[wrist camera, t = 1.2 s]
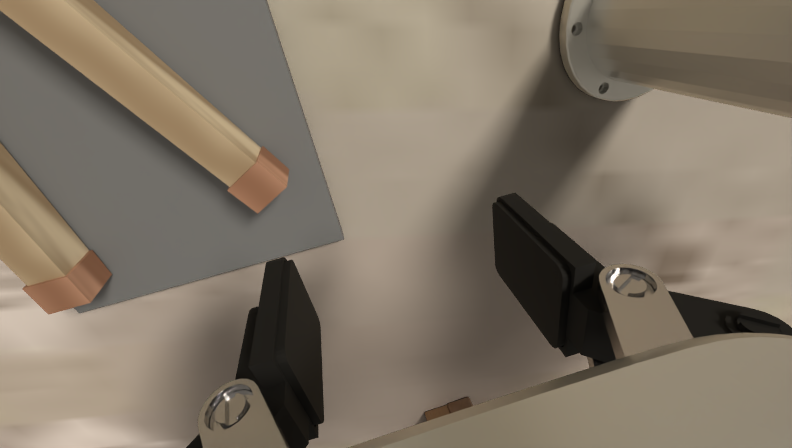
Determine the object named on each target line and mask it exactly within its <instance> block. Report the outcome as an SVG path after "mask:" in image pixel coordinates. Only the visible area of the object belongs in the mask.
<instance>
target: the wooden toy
mask: <svg viewBox="0 0 792 448" xmlns="http://www.w3.org/2000/svg"><path fill="white" fill-rule="evenodd" d="M472 406H473V405H472V403H471V400H470V398H469V397H466V398H463V399H460V400H457V401H454V402H451V403H448V404H447V405H445V406H442V407H439V408H436V409H433V410H430V411H427V412H425V416H426V419H427V421H429V420H432V419H435V418H438V417H441V416H444V415H447V414H450V413H453V412H456V411H459V410H462V409H465V408H469V407H472Z"/></svg>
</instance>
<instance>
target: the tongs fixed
mask: <svg viewBox="0 0 792 448" xmlns="http://www.w3.org/2000/svg"><path fill="white" fill-rule="evenodd" d="M0 259H1V260H2V261H3V262H4V263H5V264H6V265H7V266H8V267H9V268H10V269H11V270H12V271H13V272H14V273H15V274H16V275H17V276H18V277H19V278H20V279H21V280H22V281H23V282H24V283H25V284H26V286H25V287H24V288H23V290H24V291H25V292H26V293H27V294H28V295H29V296H30V297H31V298H32V299H33V300H34V301H35V302H36V303H37V304H38V305H39V306H40V307H41V308H42V309H43V310H44V311H45V312H47V313H48V314H52V313H56V312H59V311H63V310H66V309H70V308H74V307H77V306H81V305H84V304H88V303H91V301H92V300H93V299H94V298H95V296H96V295H97V294H98V292H99V291H100V290H101V288H102V287H103V286H104V284H105V283H106V282H107V280H108V279H109V278H110V276H111V275H112V274H111V272H110V271H109V270H108V269H107V268H106V266H105V265H104V264H103V263H102V261H101V260H100V259H99V258H98V257H97V255H96V254H95V253H94V252H93V250H88V248H87V247H86V246H85V245H84V244H83V242H82V241H81V240H80V239H79V238H78V236H77V235H76V234H75V233H74V231H73V230H72V229H71V228H70V227H69V225H68V224H67V223H66V222H65V220H64V219H63V218H62V217H61V216H60V214H59V213H58V212H57V211H56V210H55V208H54V207H53V206H52V205H51V203H50V202H49V201H48V200H47V199H46V197H45V196H44V195H43V194H42V192H41V191H40V190H39V189H38V188H37V186H36V185H35V184H34V183H33V182H32V180H31V179H30V178H29V177H28V175H27V174H26V173H25V172H24V171H23V169H22V168H21V167H20V166H19V165H18V163H17V162H16V161H15V160H14V158H13V157H12V156H11V155H10V154H9V152H8V151H7V150H6V149H5V147H4V146H3V145H2V144H1V143H0Z"/></svg>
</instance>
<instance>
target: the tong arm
mask: <svg viewBox="0 0 792 448" xmlns="http://www.w3.org/2000/svg"><path fill="white" fill-rule="evenodd" d="M0 11H1V12H3V13H4V14H5V15H7V16H8V17H9V18H11V19H12V20H13V21H14V22H16V23H17V24H18V25H20V26H21V27H22V28H24V29H25V30H26V31H27V32H29V33H30V34H31V35H33V36H34V37H35V38H37V39H38V40H39V41H40V42H42V43H43V44H44V45H46V46H47V47H48V48H50V49H51V50H52V51H53V52H55V53H56V54H57V55H59V56H60V57H61V58H63V59H64V60H65V61H66V62H68V63H69V64H70V65H72V66H73V67H74V68H76V69H77V70H78V71H79V72H81V73H82V74H83V75H85V76H86V77H87V78H89V79H90V80H91V81H92V82H94V83H95V84H96V85H98V86H99V87H100V88H102V89H103V90H104V91H105V92H107V93H108V94H109V95H111V96H112V97H113V98H115V99H116V100H117V101H118V102H120V103H121V104H122V105H124V106H125V107H126V108H128V109H129V110H130V111H131V112H133V113H134V114H135V115H137V116H138V117H139V118H141V119H142V120H143V121H144V122H146V123H147V124H148V125H150V126H151V127H152V128H154V129H155V130H156V131H157V132H159V133H160V134H161V135H163V136H164V137H165V138H167V139H168V140H169V141H170V142H172V143H173V144H174V145H176V146H177V147H178V148H180V149H181V150H182V151H183V152H185V153H186V154H187V155H189V156H190V157H191V158H193V159H194V160H195V161H196V162H198V163H199V164H200V165H202V166H203V167H204V168H206V169H207V170H208V171H209V172H211V173H212V174H213V175H215V176H216V177H217V178H219V179H220V180H221V181H222V182H224V183H225V184H226V185H228V186H229V188H228V190H227V191H228V192H230V193H231V194H232V195H234V196H235V197H236V198H238V199H239V200H240V201H242V202H243V203H244V204H246V205H247V206H248V207H250V208H251V209H252V210H253V211H255V212H256V213H257V214H258V213H259V212H260V211H261V210H262V209H263V208H264V207H266V206H267V205H268V204H269V203H270V202H271V201H272V200H273V199H274V198H275V197H277V196H278V195H279V194H280V193H281V192H282V191H283V190H284V189H285V188H286V187H287V183H288V175H289V169H288V168H287V167H286V166H285V165H284V164H283V163H282V162H281V161H279V160H278V159H277V158H276V157H275V156H274V155H273V154H272V153H270V152H269V151H268V150H267V149H266V148H265V147H264V146H262V147H260V146H258V145H257V144H256V143H255V142H254V141H253V140H252V139H250V138H249V137H248V136H247V135H246V134H245V133H244V132H242V131H241V130H240V129H239V128H238V127H237V126H236V125H235V124H233V123H232V122H231V121H230V120H229V119H228V118H227V117H225V116H224V115H223V114H222V113H221V112H220V111H219V110H218V109H216V108H215V107H214V106H213V105H212V104H211V103H210V102H208V101H207V100H206V99H205V98H204V97H203V96H202V95H201V94H199V93H198V92H197V91H196V90H195V89H194V88H193V87H191V86H190V85H189V84H188V83H187V82H186V81H185V80H183V79H182V78H181V77H180V76H179V75H178V74H177V73H176V72H174V71H173V70H172V69H171V68H170V67H169V66H168V65H166V64H165V63H164V62H163V61H162V60H161V59H160V58H159V57H157V56H156V55H155V54H154V53H153V52H152V51H151V50H149V49H148V48H147V47H146V46H145V45H144V44H143V43H141V42H140V41H139V40H138V39H137V38H136V37H135V36H134V35H132V34H131V33H130V32H129V31H128V30H127V29H126V28H124V27H123V26H122V25H121V24H120V23H119V22H118V21H117V20H115V19H114V18H113V17H112V16H111V15H110V14H109V13H107V12H106V11H105V10H104V9H103V8H102V7H101V6H100V5H98V4H97V3H96V2H95V1H94V0H0Z"/></svg>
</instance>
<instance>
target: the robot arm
mask: <svg viewBox="0 0 792 448" xmlns="http://www.w3.org/2000/svg"><path fill="white" fill-rule="evenodd" d="M559 40H560V53H561V57H562V61H563V64H564V68H565V70H566V72H567V74H568V76H569V78H570V79H571V81H572V82H573V83H574V84H575V85H576V86H577V88H578V89H580V90H581V91H583V92H584V93H586V94H587V95H590V96H592V97H595V98H598V99H602V100H607V101H625V100H629V99H633V98H636V97H639V96H641V95H643V94H646V93H648V92H650V91H652V90H653V89H657V90H662V91H667V92H672V93H676V94H681V95H686V96H690V97H695V98H700V99H704V100H709V101H714V102H719V103H723V104H728V105H733V106H737V107H742V108H747V109H751V110H756V111H761V112H766V113H770V114H775V115H780V116H784V117H789V118H792V0H565V2H564V6H563V11H562V15H561V22H560V33H559ZM492 208H493V228H494V249H495V266H496V269H497V272H498V274H499V275H500V277H501V278H502V279H503V281H504V282H505V283H506V285H507V286H508V287H509V289H510V290H511V292H512V293H513V294H514V296H515V297H516V298H517V300H518V301H519V302H520V304H521V305H522V306H523V308H524V309H525V311H526V312H527V313H528V315H529V316H530V317H531V319H532V320H533V321H534V323H535V324H536V325H537V327H538V328H539V330H540V331H541V332H542V334H543V335H544V336H545V338H546V339H547V340H548V342H549V343H550V344H551V346H552V347H554V348H558V347H559V349H560V350H561V351H562V353H563V354H564V355H565V357H568V356H571V355H574V354H577V353H580V354H581V355H584V356H587V359H588V363H589V369H586V370H582V371H579V372H576V373H573V374H570V375H567V376H564V377H561V378H558V379H554V380H551V381H548V382H545V383H542V384H539V385H536V386H533V387H530V388H527V389H523V390H520V391H517V392H514V393H511V394H508V395H505V396H502V397H499V398H496V399H493V400H490V401H487V402H484V403H481V404H478V405H475V406H472V407H469V408H465V409H462V410H459V411H456V412H453V413H450V414H447V415H444V416H441V417H438V418H435V419H432V420H429V421H426V422H423V423H420V424H417V425H414V426H411V427H408V428H405V429H402V430H399V431H396V432H393V433H390V434H387V435H384V436H381V437H378V438H375V439H372V440H369V441H366V442H363V443H360V444H357V445H354V446H351V447H348V448H792V328H791V327H790V326H789V325H788V324H786V323H785V322H783V321H782V320H780V319H779V318H777V317H774V316H772V315H770V314H768V313H765V312H762V311H759V310H755V309H751V308H747V307H742V306H737V305H732V304H728V303H723V302H718V301H714V300H709V299H704V298H699V297H695V296H690V295H685V294H681V293H676V292H671V291H668V290H667V289H666V287H665V285H664V283H663V282H662V280H661V279H660V278H659V277H658V276H657V275H656V274H654V273H653V272H651V271H650V270H647V269H645V268H643V267H640V266H636V265H631V264H615V265H611V266H608V267H606V268H605V267H604V266H602V265H601V264H600V263H599V262H598V261H597V260H595V259H594V258H593V257H592V256H591V255H589V254H588V253H587V252H586V251H585V250H584V249H582V248H581V247H580V246H579V245H578V244H577V243H575V242H574V241H573V240H572V239H571V238H569V237H568V236H567V235H566V234H565V233H564V232H562V231H561V230H560V229H559V228H558V227H557V226H555V225H554V224H552V223H550V222H549V221H548V220H546V219H545V218H544V217H543V216H542V215H541V214H539V213H538V212H537V211H536V210H535V209H534V208H532V207H531V206H530V205H529V204H528V203H527V202H525V201H524V200H523V199H522V198H521V197H520V196H518V195H517V194H516V193H512V194H508V195H505V196H501V197H498V198H497V202H496V203H493V207H492ZM323 422H324V405H323V380H322V354H321V329H320V322H319V318H318V316H317V314H316V311H315V309H314V307H313V304H312V302H311V300H310V298H309V295H308V293H307V291H306V289H305V286H304V284H303V282H302V280H301V277H300V275H299V273H298V270H297V268H296V266H295V264H294V262H293V260H289V261H287V260H286V258H284V257H283V258H280V259H276V260H272V261H269V262H267V263H266V266H265V272H264V278H263V284H262V290H261V296H260V302H259V307H255V308H252V309H251V310H250V311H249V314H248V319H247V324H246V329H245V334H244V339H243V344H242V349H241V354H240V359H239V364H238V369H237V374H236V379H235V380H233V381H230V382H228V383H226V384H224V385H223V386H221V387H220V388H219V389H217V390H216V391H215V392H213V393H212V395H211V396H210V397H209V398H208V399H207V400H206V402H205V403H204V405H203V407H202V408H201V410H200V413H199V416H198V430H199V435H198V436H197V437H196V438H195V439H194V440H193V441H192V442H191V443H190V444H189V445H188V446H187V447H186V448H306V446H307V445H308V444H309V440H311V439H314V438H318V424H321V423H323Z"/></svg>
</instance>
